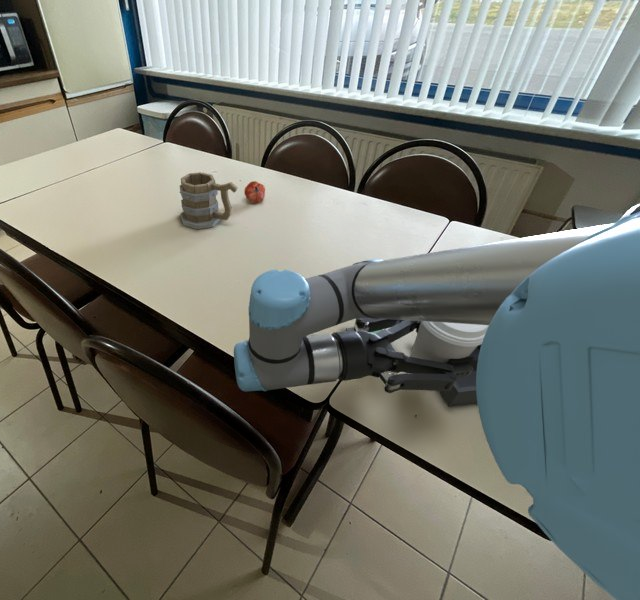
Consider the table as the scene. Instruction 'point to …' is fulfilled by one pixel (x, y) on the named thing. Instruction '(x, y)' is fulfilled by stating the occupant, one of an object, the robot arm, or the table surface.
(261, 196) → the pomegranate
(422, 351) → the coffee cup
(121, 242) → the table surface
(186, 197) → the tankard
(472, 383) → the basket
